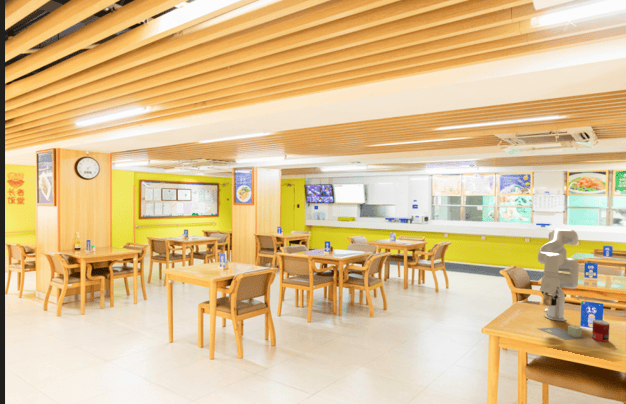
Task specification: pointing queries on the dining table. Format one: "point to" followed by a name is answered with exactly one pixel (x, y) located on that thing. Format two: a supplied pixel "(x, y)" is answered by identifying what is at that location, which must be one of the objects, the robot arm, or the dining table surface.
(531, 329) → the dining table surface
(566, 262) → the robot arm
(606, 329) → the canned food
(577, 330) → the sage block
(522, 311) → the dining table surface
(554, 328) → the mat
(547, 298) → the oak block
